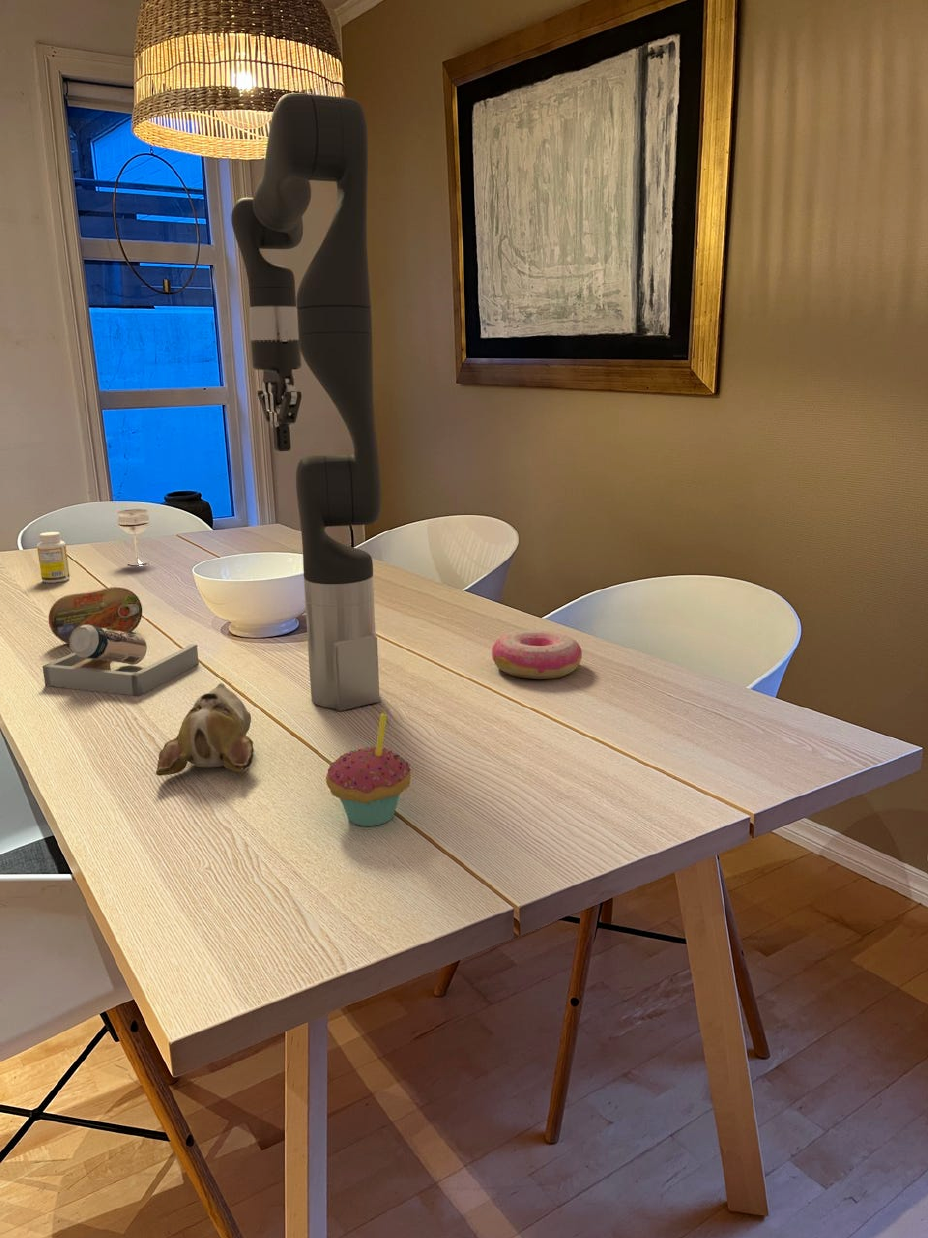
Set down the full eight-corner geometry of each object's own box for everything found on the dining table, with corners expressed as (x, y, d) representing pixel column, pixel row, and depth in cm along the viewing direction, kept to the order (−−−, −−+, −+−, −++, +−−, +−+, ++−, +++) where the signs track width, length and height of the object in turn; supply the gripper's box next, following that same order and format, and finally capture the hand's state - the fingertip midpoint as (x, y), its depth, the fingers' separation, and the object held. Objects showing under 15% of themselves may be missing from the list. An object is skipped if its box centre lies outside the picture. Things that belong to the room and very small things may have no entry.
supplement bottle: (55, 576, 205) (49, 530, 202) (75, 578, 203) (69, 531, 201) (36, 582, 200) (29, 535, 197) (56, 584, 198) (50, 536, 196)
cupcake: (412, 796, 102) (408, 691, 98) (411, 835, 93) (407, 721, 90) (332, 799, 101) (326, 693, 98) (324, 838, 93) (317, 724, 90)
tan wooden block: (89, 678, 141) (86, 658, 140) (112, 680, 140) (109, 661, 139) (71, 686, 137) (68, 667, 136) (94, 689, 136) (91, 669, 135)
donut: (577, 687, 134) (577, 654, 133) (484, 682, 137) (484, 649, 135) (584, 658, 147) (585, 627, 145) (499, 654, 149) (499, 623, 148)
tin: (55, 649, 154) (48, 599, 152) (49, 645, 157) (42, 596, 154) (145, 632, 164) (140, 584, 161) (138, 628, 166) (133, 581, 164)
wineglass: (160, 562, 218) (154, 510, 215) (136, 567, 213) (130, 514, 210) (140, 559, 222) (134, 508, 219) (116, 564, 216) (110, 512, 213)
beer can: (151, 636, 146) (96, 625, 134) (146, 666, 145) (90, 658, 134) (126, 633, 147) (69, 622, 136) (121, 663, 147) (64, 655, 136)
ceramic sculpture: (263, 669, 116) (242, 722, 102) (270, 733, 119) (250, 793, 105) (176, 672, 116) (142, 726, 101) (184, 736, 118) (153, 797, 104)
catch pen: (111, 654, 151) (109, 636, 150) (198, 663, 146) (197, 644, 146) (45, 685, 137) (42, 666, 136) (139, 696, 133) (136, 675, 132)
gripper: (237, 338, 150) (245, 449, 155) (268, 337, 139) (276, 455, 144) (281, 338, 154) (288, 446, 159) (314, 336, 143) (321, 452, 148)
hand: (282, 450), depth 151 cm, fingers closed
